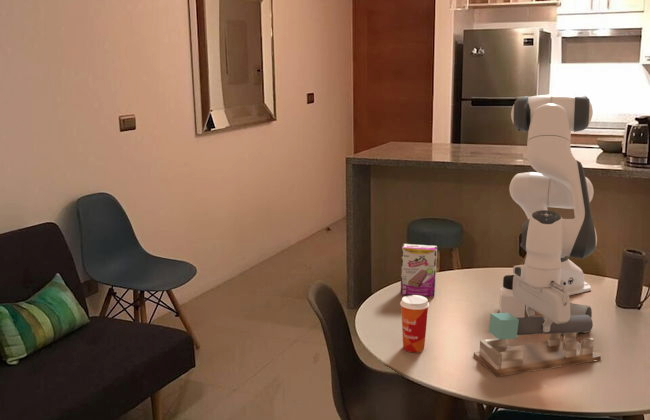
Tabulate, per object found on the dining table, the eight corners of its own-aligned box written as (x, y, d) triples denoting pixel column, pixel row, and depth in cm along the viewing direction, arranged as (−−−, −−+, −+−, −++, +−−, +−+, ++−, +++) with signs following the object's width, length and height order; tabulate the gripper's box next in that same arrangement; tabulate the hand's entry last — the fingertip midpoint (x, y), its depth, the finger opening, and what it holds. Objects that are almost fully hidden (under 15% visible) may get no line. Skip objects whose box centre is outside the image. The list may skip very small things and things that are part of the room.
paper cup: (394, 345, 183) (394, 296, 180) (418, 340, 186) (419, 292, 183) (409, 356, 176) (410, 306, 173) (433, 351, 179) (435, 302, 176)
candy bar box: (400, 295, 219) (401, 247, 215) (401, 290, 224) (402, 243, 220) (434, 298, 217) (436, 249, 213) (435, 292, 222) (437, 244, 218)
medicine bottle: (524, 319, 200) (527, 281, 197) (500, 317, 201) (502, 279, 198) (522, 310, 206) (525, 273, 204) (498, 308, 208) (501, 271, 205)
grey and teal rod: (579, 327, 180) (582, 309, 179) (592, 334, 175) (594, 316, 174) (488, 331, 172) (490, 313, 171) (498, 339, 167) (501, 320, 166)
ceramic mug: (562, 321, 198) (564, 296, 196) (591, 327, 193) (593, 302, 191) (550, 333, 190) (552, 308, 188) (579, 341, 185) (581, 315, 183)
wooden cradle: (571, 341, 185) (572, 324, 183) (600, 359, 173) (602, 341, 172) (473, 355, 176) (474, 338, 175) (497, 376, 165) (498, 358, 164)
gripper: (579, 287, 161) (574, 341, 164) (530, 262, 180) (527, 311, 183) (556, 290, 159) (552, 344, 162) (509, 264, 178) (506, 313, 181)
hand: (538, 326), depth 173 cm, fingers closed on grey and teal rod, 4 cm apart
